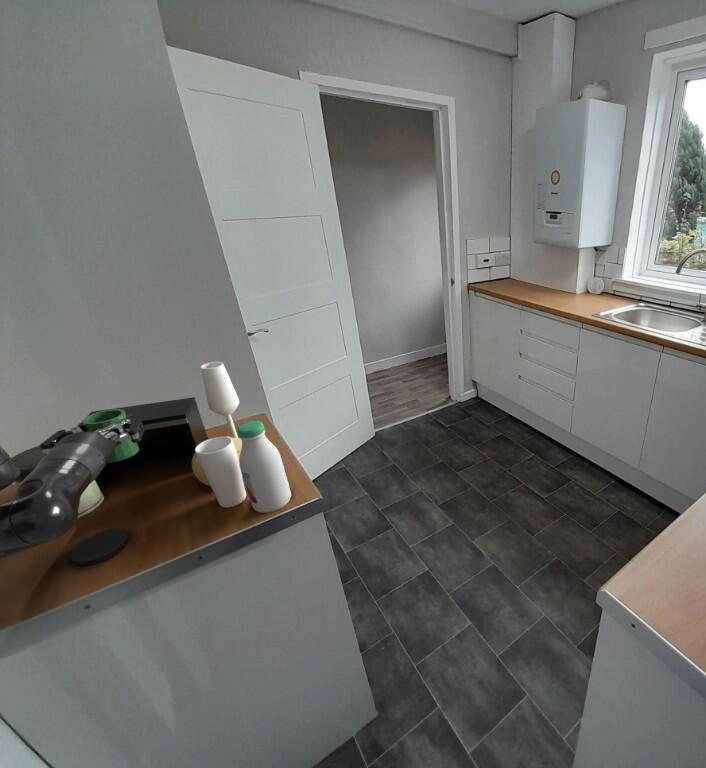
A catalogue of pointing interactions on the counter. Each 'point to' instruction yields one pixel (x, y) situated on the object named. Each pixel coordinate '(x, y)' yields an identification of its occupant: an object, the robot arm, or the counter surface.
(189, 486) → the counter surface
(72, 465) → the robot arm
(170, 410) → the cubby
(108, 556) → the dark round coaster
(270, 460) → the milk bottle
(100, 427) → the pot
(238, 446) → the yellow ball
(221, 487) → the drinking glass
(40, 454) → the coffee can
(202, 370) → the champagne flute
